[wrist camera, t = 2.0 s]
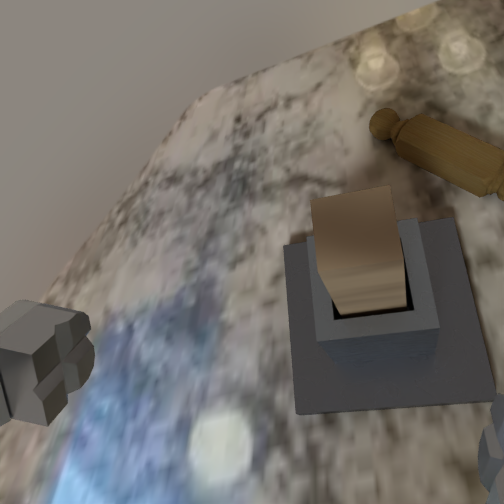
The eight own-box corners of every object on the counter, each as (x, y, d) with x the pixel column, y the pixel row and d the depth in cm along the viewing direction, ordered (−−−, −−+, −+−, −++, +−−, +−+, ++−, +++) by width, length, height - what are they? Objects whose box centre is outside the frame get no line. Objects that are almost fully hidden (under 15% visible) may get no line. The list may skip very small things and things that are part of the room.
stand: (494, 401, 33) (521, 383, 25) (300, 415, 37) (266, 403, 28) (451, 225, 39) (461, 162, 31) (287, 252, 43) (256, 202, 34)
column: (408, 334, 35) (405, 259, 22) (353, 340, 36) (316, 272, 23) (399, 282, 37) (390, 183, 23) (346, 290, 38) (309, 199, 24)
